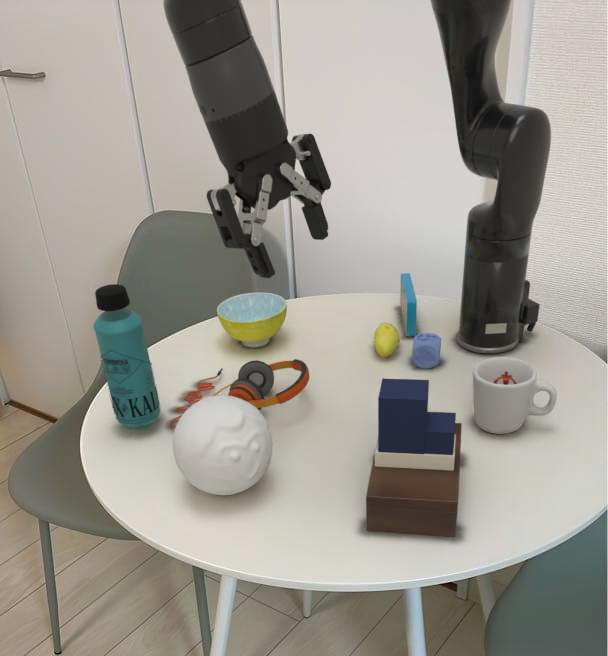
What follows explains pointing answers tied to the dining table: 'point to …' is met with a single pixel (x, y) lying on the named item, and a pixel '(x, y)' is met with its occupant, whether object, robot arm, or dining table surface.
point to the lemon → (386, 339)
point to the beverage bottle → (125, 358)
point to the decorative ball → (222, 445)
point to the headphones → (257, 384)
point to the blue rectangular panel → (408, 305)
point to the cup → (507, 394)
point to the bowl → (252, 317)
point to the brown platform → (414, 498)
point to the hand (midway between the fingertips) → (295, 256)
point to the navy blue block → (412, 428)
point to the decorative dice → (426, 350)
